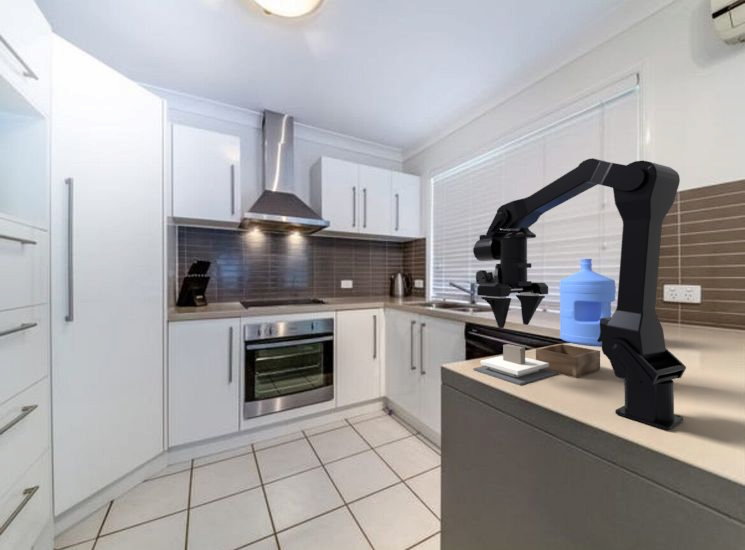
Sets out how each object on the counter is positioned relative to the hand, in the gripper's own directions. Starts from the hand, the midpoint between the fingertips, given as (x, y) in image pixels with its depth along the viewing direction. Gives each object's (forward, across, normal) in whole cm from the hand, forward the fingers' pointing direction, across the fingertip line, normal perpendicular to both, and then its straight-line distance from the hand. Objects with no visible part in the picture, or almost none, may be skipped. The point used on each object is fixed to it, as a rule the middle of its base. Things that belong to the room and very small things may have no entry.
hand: (513, 326), depth 71 cm
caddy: (+10, -13, +5) cm, 18 cm away
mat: (+11, 0, 0) cm, 11 cm away
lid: (+10, 0, 0) cm, 10 cm away
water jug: (+11, -51, -8) cm, 53 cm away
